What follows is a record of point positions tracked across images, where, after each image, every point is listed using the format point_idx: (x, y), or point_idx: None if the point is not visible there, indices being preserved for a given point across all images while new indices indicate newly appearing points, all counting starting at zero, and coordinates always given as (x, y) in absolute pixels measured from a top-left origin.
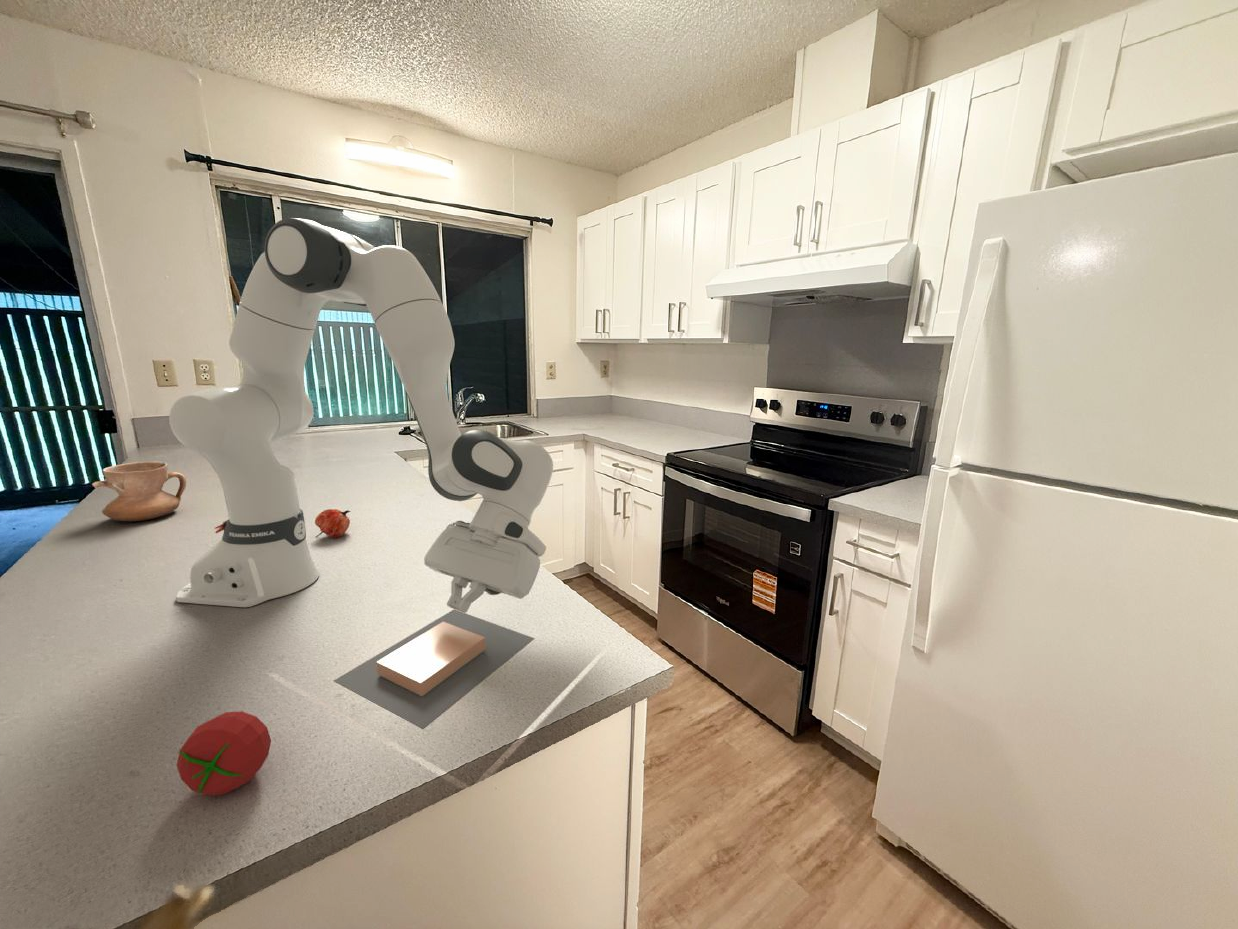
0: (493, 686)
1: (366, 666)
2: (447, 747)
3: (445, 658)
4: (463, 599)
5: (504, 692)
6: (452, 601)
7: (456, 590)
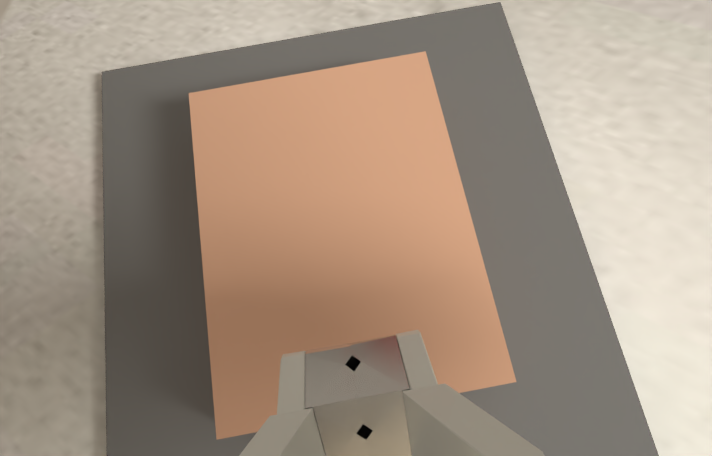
0: (73, 320)
1: (501, 84)
2: (16, 94)
3: (236, 221)
4: (287, 401)
5: (17, 326)
6: (380, 353)
7: (440, 437)
